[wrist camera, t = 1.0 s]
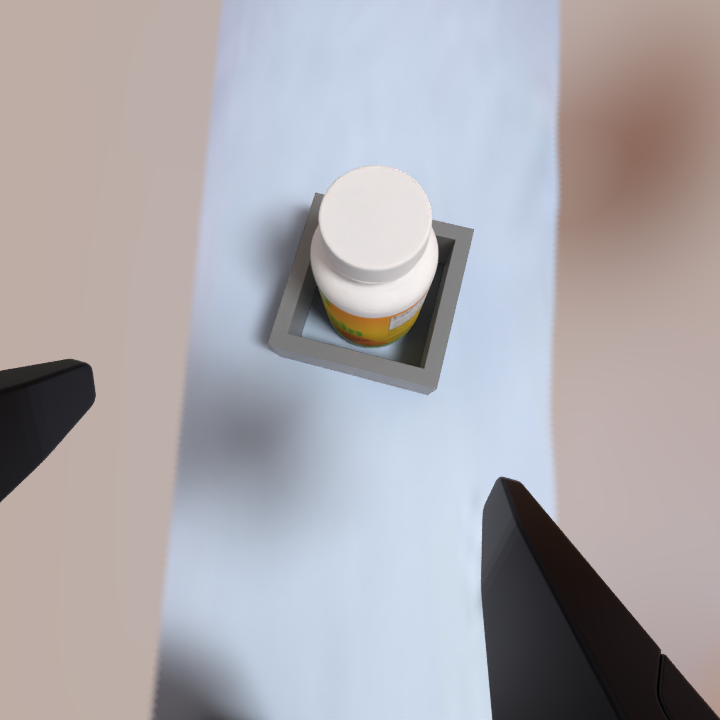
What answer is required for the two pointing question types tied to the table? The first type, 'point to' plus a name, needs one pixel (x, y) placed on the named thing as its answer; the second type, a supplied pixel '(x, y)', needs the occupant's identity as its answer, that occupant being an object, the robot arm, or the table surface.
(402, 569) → the table surface
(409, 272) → the supplement bottle
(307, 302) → the frame
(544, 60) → the table surface
